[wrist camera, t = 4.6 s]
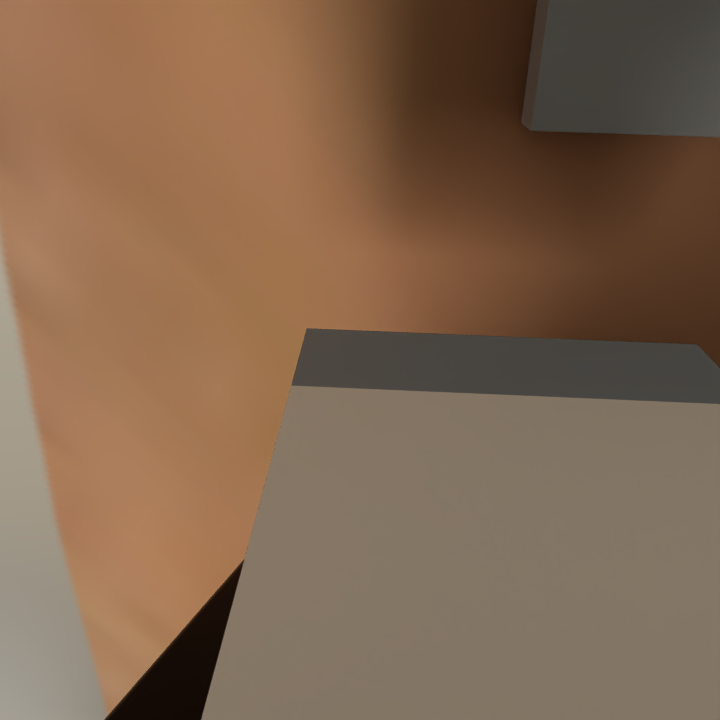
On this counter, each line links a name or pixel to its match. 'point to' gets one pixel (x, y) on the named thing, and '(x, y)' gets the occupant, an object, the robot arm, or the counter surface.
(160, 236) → the counter surface
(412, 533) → the sleeve
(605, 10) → the pin board
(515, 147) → the counter surface
